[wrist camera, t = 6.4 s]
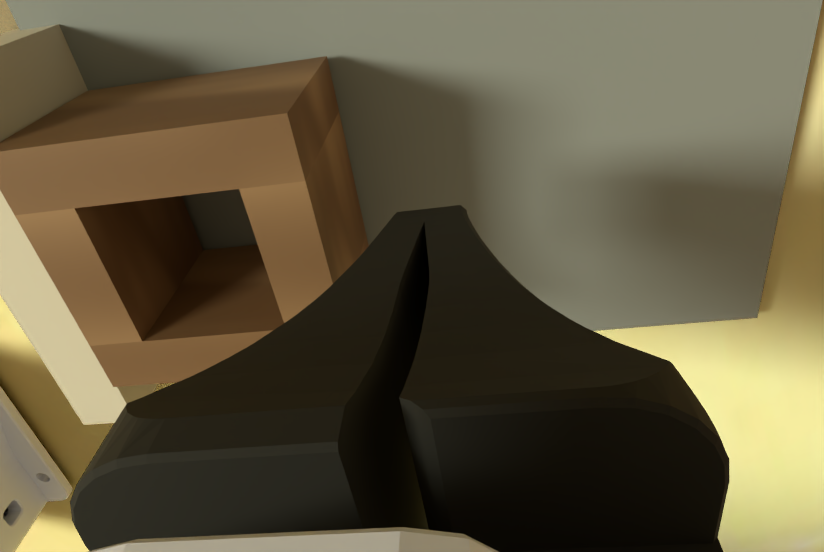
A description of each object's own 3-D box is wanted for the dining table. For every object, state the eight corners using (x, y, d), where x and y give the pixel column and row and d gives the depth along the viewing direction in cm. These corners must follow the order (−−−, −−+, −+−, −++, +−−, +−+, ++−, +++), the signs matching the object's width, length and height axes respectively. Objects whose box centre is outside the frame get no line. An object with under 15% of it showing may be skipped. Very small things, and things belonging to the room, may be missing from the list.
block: (374, 272, 17) (356, 368, 14) (176, 291, 18) (113, 387, 14) (326, 55, 14) (287, 113, 10) (87, 91, 15) (-21, 154, 11)
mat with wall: (751, 309, 18) (828, 420, 14) (170, 356, 20) (108, 462, 17) (851, -197, 11) (1041, -231, 8) (-23, -39, 14) (-195, -9, 10)
